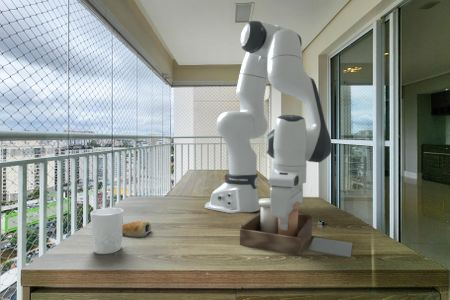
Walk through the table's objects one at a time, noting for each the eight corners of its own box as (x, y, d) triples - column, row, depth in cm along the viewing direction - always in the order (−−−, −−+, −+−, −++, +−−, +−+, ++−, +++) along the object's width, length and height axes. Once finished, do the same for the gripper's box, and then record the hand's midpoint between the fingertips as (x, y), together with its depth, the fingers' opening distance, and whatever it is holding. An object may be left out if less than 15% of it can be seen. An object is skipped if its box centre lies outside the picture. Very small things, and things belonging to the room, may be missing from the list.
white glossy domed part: (255, 235, 86) (255, 201, 85) (262, 229, 92) (262, 197, 91) (276, 239, 83) (277, 203, 83) (282, 232, 89) (283, 199, 88)
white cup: (97, 244, 80) (96, 207, 80) (127, 243, 81) (126, 207, 81) (86, 255, 73) (85, 215, 72) (119, 255, 73) (118, 215, 73)
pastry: (113, 236, 87) (113, 223, 87) (124, 229, 94) (124, 217, 94) (144, 238, 86) (144, 225, 86) (153, 231, 92) (153, 219, 92)
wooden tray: (239, 246, 79) (240, 222, 79) (259, 229, 93) (259, 208, 93) (300, 257, 72) (300, 230, 72) (311, 237, 86) (312, 215, 86)
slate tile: (307, 252, 75) (307, 249, 75) (314, 240, 84) (314, 237, 84) (350, 259, 71) (350, 256, 71) (352, 245, 80) (352, 243, 80)
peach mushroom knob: (272, 240, 80) (273, 203, 79) (279, 233, 85) (280, 199, 85) (296, 244, 77) (297, 206, 76) (302, 237, 82) (302, 201, 82)
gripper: (287, 170, 91) (286, 214, 91) (266, 179, 72) (265, 235, 73) (308, 171, 88) (307, 217, 89) (291, 181, 69) (290, 239, 70)
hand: (288, 225), depth 81 cm, fingers closed on peach mushroom knob, 6 cm apart
